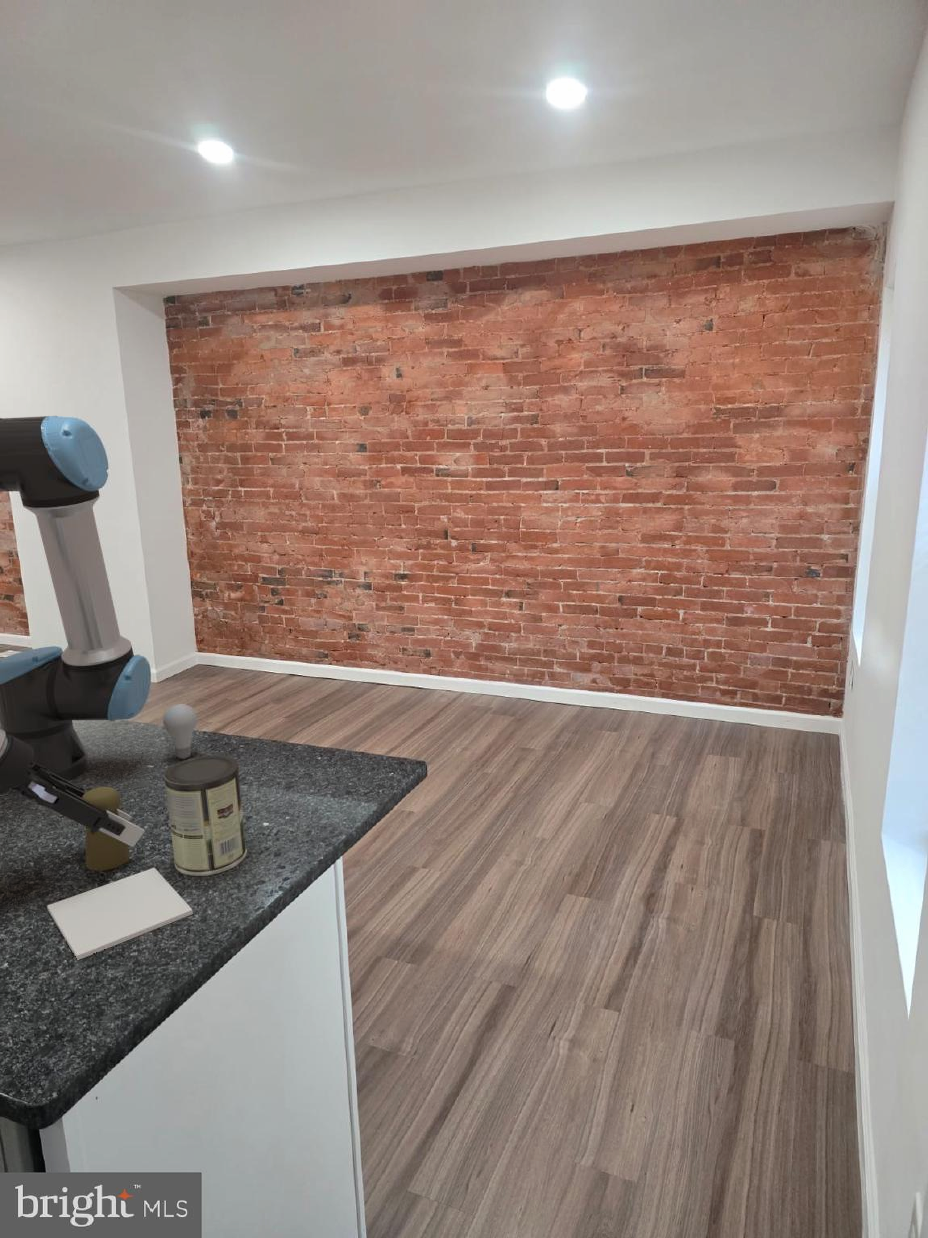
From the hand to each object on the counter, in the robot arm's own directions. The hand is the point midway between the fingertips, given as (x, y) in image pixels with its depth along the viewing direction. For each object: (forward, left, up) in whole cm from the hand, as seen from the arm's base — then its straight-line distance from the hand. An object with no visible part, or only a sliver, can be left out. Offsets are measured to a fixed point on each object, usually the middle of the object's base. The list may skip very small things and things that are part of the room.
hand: (131, 831), depth 119 cm
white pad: (+15, -7, -3) cm, 17 cm away
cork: (0, -4, -4) cm, 5 cm away
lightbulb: (-30, +19, -4) cm, 36 cm away
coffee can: (+10, +8, -4) cm, 13 cm away
